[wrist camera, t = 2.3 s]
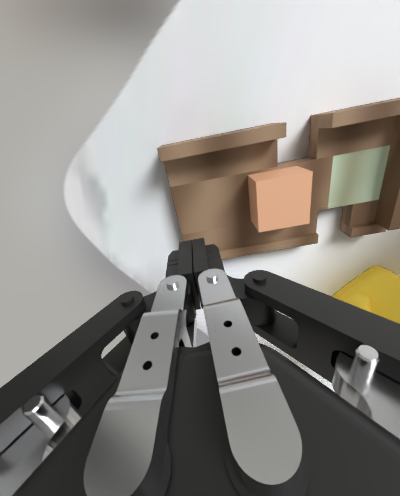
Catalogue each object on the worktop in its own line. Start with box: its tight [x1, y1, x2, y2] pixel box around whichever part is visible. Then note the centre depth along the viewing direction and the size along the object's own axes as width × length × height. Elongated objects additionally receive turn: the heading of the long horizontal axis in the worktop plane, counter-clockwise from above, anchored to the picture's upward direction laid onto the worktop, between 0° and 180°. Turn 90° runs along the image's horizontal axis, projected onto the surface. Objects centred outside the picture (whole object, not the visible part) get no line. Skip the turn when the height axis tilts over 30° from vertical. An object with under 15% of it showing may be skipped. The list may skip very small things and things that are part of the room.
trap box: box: [157, 98, 400, 260], centre depth 21 cm, size 21×12×4 cm, turn 100°
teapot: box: [332, 266, 400, 324], centre depth 27 cm, size 15×14×10 cm
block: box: [248, 166, 313, 232], centre depth 20 cm, size 4×4×3 cm
